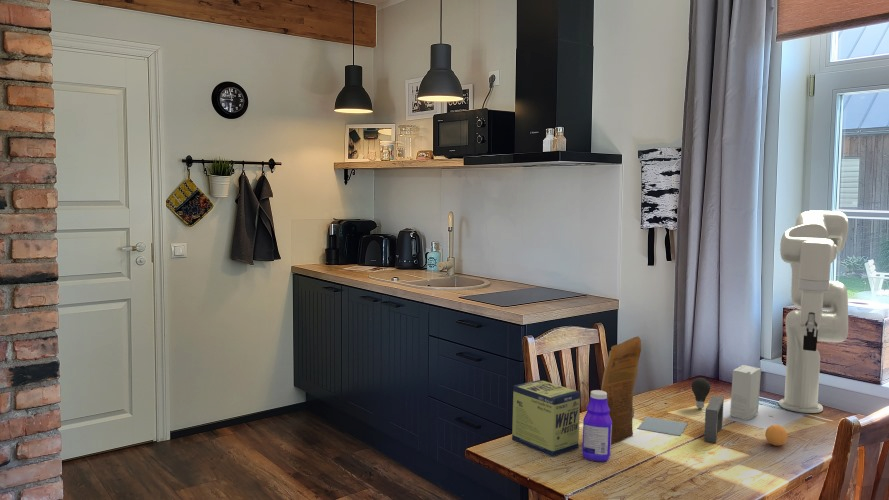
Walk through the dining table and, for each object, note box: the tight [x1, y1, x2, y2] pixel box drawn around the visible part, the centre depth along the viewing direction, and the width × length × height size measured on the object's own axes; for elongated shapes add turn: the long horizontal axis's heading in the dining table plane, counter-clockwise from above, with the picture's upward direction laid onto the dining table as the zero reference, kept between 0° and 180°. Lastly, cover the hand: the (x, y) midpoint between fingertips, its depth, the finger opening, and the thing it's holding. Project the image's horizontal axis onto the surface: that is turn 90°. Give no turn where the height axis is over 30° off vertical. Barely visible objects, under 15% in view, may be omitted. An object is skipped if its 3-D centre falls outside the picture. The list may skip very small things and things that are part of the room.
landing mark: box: [636, 416, 688, 437], centre depth 205 cm, size 12×12×1 cm
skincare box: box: [729, 364, 762, 421], centre depth 216 cm, size 8×6×15 cm
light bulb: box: [691, 377, 711, 410], centre depth 222 cm, size 6×6×10 cm
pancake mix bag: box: [600, 335, 642, 445], centre depth 194 cm, size 7×19×28 cm, turn 133°
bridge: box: [703, 395, 725, 444], centre depth 198 cm, size 3×14×9 cm, turn 152°
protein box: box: [511, 379, 581, 457], centre depth 189 cm, size 10×16×16 cm
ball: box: [764, 424, 788, 447], centre depth 191 cm, size 6×6×6 cm
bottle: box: [581, 389, 612, 462], centre depth 180 cm, size 7×6×17 cm
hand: (810, 346), depth 195 cm, fingers open, 9 cm apart
